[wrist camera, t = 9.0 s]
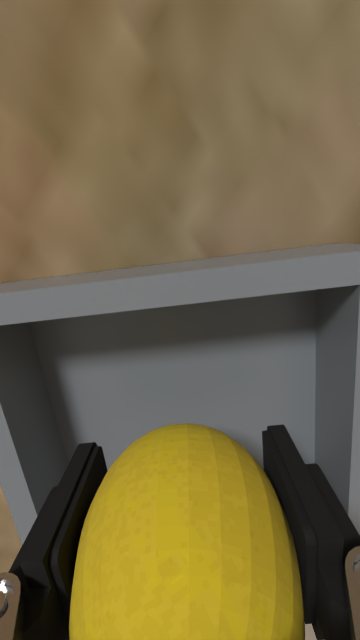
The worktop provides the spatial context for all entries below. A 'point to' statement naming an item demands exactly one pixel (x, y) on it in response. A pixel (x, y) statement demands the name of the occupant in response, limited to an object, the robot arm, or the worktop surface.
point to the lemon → (186, 546)
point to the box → (182, 363)
